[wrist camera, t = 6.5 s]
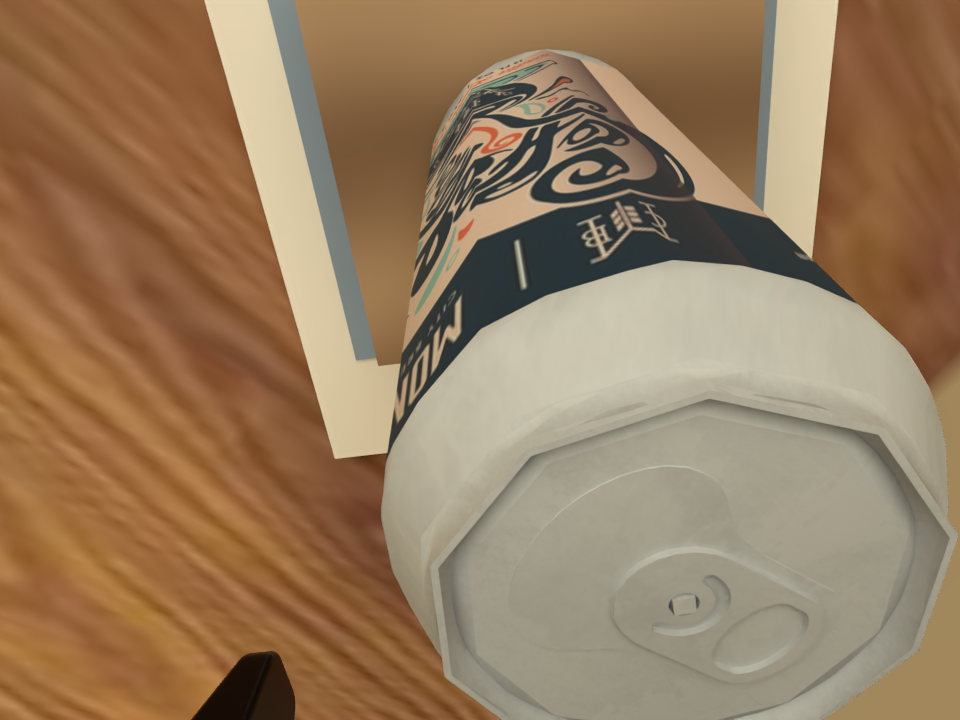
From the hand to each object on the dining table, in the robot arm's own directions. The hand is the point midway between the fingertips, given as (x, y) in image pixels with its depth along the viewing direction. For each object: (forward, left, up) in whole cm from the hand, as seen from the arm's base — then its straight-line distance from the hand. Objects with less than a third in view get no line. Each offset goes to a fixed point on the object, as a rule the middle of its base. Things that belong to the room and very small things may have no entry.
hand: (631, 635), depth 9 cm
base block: (+3, 0, -12) cm, 13 cm away
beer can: (+3, 0, -10) cm, 10 cm away
